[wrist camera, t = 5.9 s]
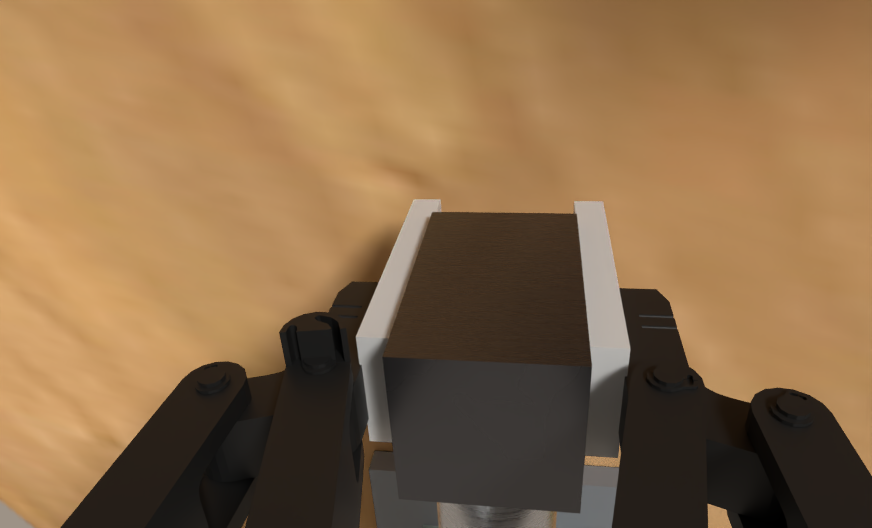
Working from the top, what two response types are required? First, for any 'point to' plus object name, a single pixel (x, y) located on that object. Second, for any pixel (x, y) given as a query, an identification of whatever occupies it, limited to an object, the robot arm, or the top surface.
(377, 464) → the bearing stand
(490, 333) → the shaft
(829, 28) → the top surface
